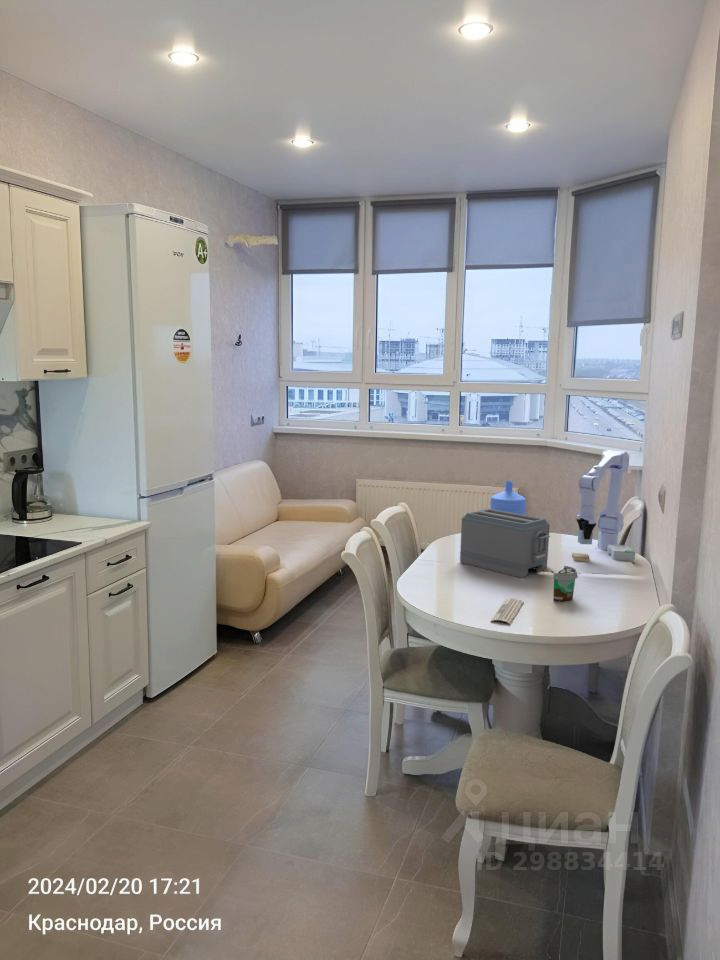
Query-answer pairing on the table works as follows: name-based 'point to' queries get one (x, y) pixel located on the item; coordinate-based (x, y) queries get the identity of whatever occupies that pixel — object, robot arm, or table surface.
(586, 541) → the block
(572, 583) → the food container
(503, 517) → the toaster
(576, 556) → the tower top
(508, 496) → the water jug
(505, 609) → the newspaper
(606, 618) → the table surface
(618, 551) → the ink box
